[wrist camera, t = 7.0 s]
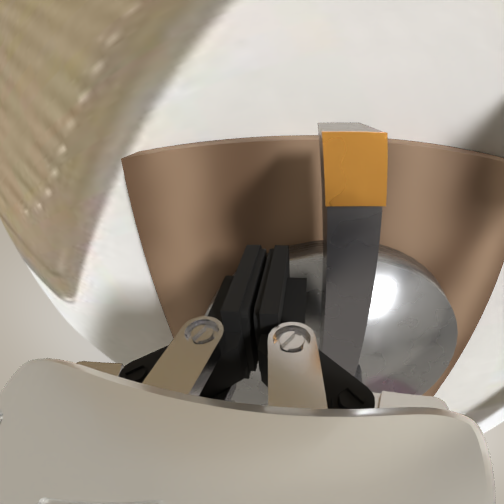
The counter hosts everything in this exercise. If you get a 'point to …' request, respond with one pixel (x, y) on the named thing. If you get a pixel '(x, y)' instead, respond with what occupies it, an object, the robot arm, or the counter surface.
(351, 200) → the dial
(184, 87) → the counter surface
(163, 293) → the dial base
